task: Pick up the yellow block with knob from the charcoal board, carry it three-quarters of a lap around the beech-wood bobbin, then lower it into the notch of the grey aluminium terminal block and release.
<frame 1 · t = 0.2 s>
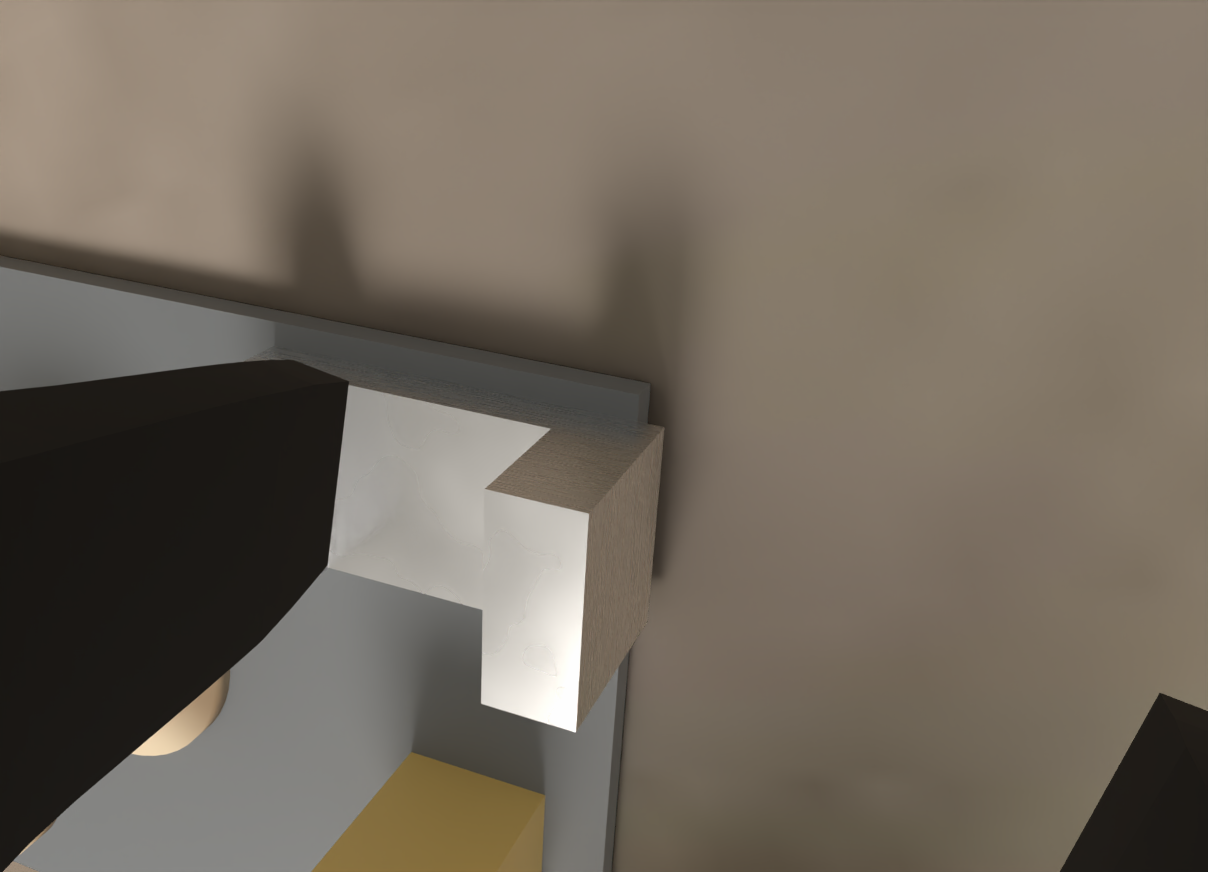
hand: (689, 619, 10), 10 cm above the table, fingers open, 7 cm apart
terminal block: (457, 481, 22), resting on board
yellow block with knob: (476, 830, 25), point 1 cm above the table, touching board
bobbin: (117, 626, 27), resting on board
board: (258, 669, 27), on the table
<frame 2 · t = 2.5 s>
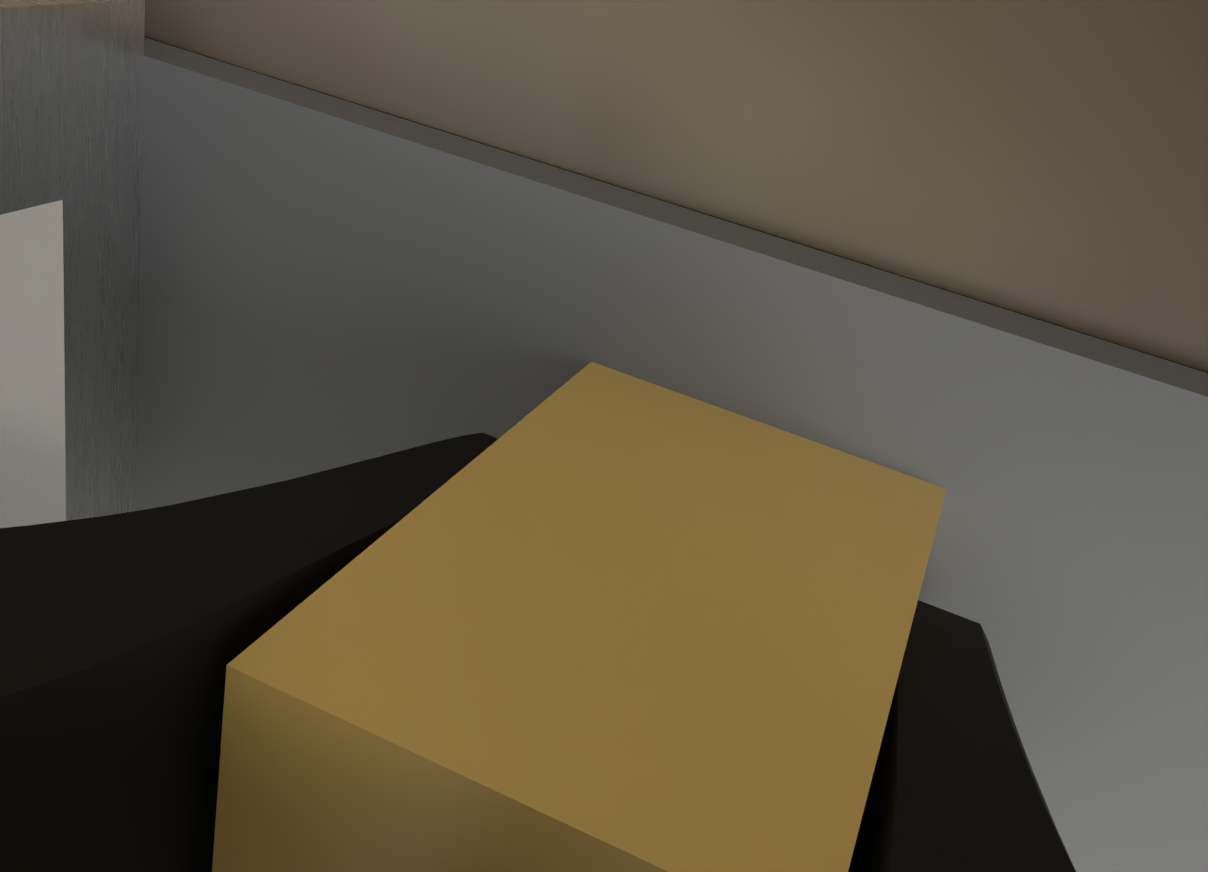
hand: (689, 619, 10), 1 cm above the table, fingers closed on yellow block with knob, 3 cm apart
yellow block with knob: (715, 575, 10), point 1 cm above the table, touching board, gripper
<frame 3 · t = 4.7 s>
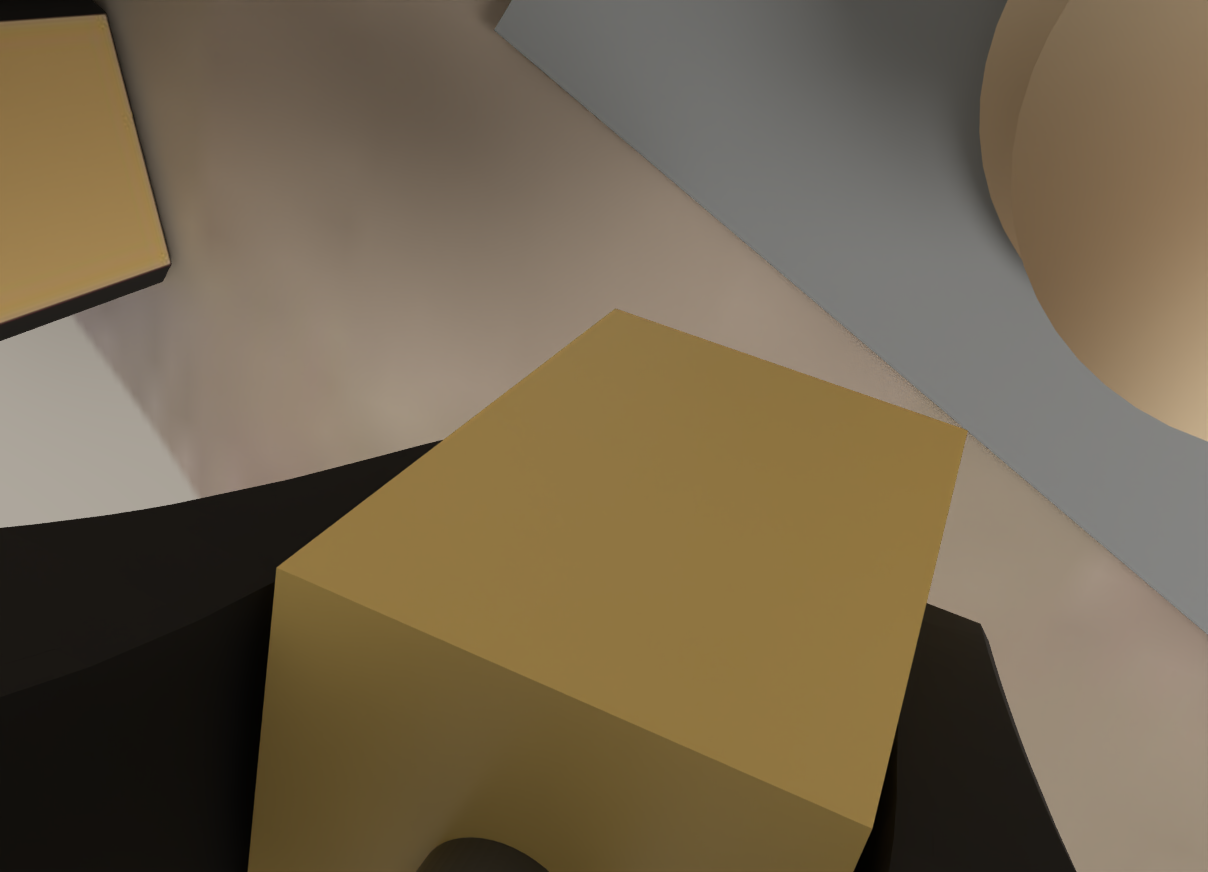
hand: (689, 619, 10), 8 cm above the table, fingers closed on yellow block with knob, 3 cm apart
yellow block with knob: (736, 521, 11), point 7 cm above the table, touching gripper
when the fingers open (3 cm above the table, at t = 7.2 s): yellow block with knob stays where it is, resting on terminal block.
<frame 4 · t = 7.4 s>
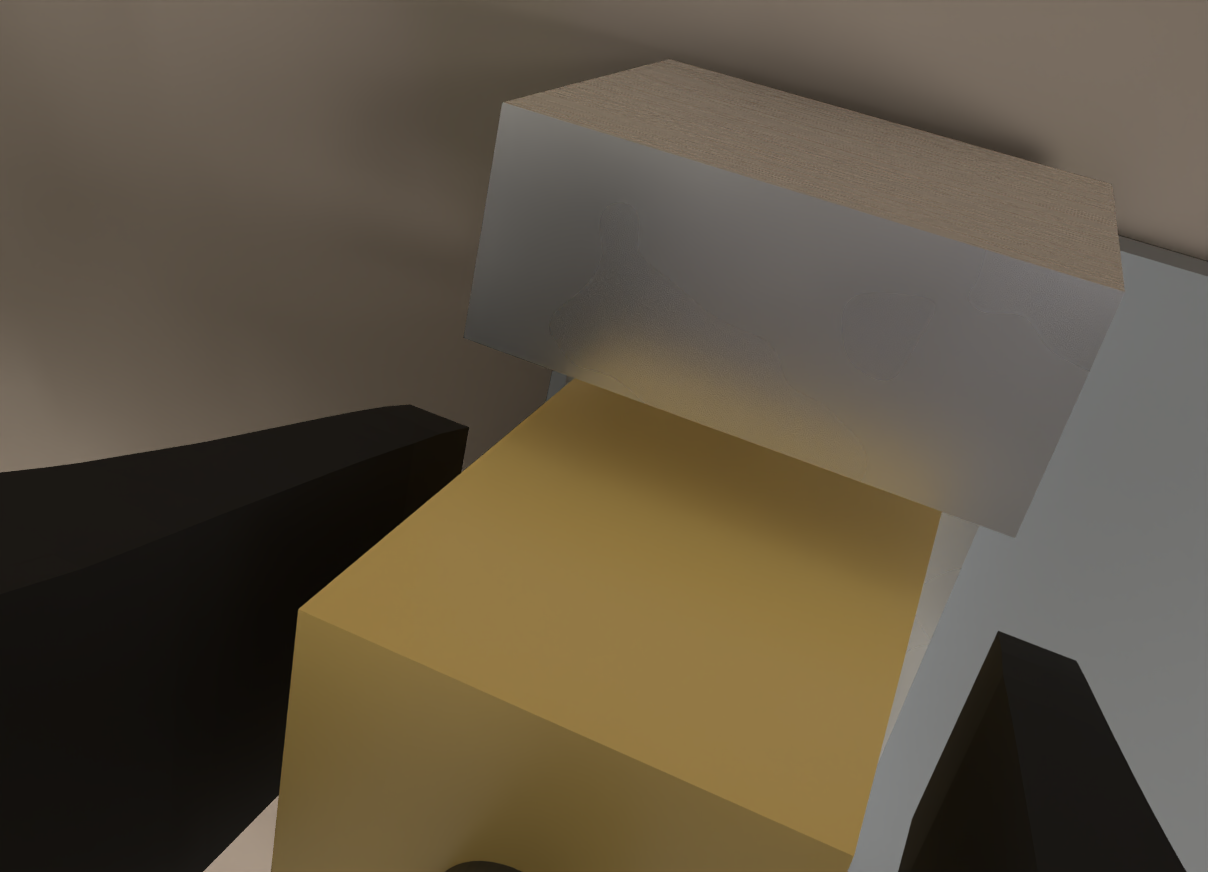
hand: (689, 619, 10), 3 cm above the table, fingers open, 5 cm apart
terminal block: (758, 502, 12), resting on board
yellow block with knob: (733, 547, 11), point 2 cm above the table, touching terminal block
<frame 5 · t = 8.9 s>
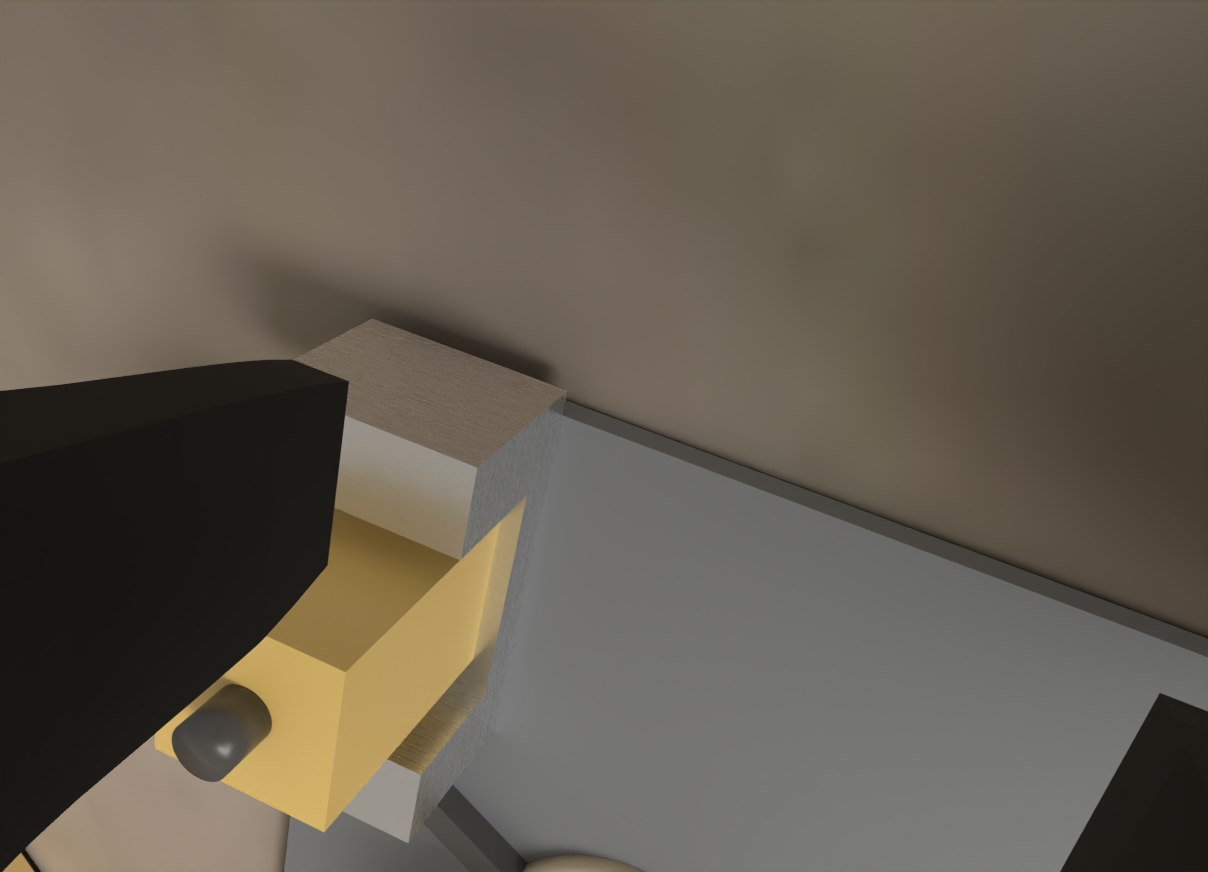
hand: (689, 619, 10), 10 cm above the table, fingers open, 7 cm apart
terminal block: (436, 536, 22), resting on board
yellow block with knob: (411, 560, 22), point 2 cm above the table, touching terminal block
board: (685, 853, 24), on the table
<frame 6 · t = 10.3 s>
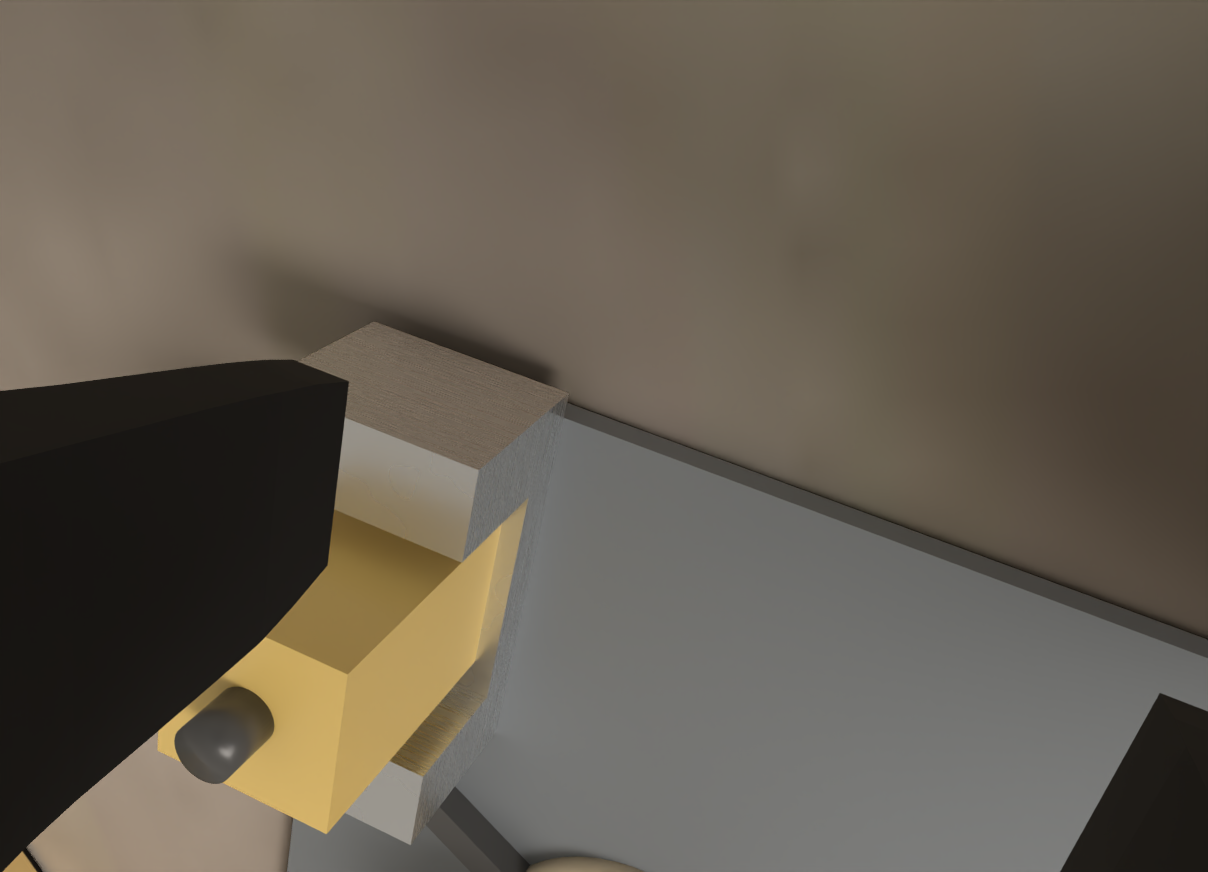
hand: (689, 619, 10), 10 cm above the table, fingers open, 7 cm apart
terminal block: (438, 539, 22), resting on board
yellow block with knob: (413, 563, 22), point 2 cm above the table, touching terminal block
board: (687, 855, 24), on the table
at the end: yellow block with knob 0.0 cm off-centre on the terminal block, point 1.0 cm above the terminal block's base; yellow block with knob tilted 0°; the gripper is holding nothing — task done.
